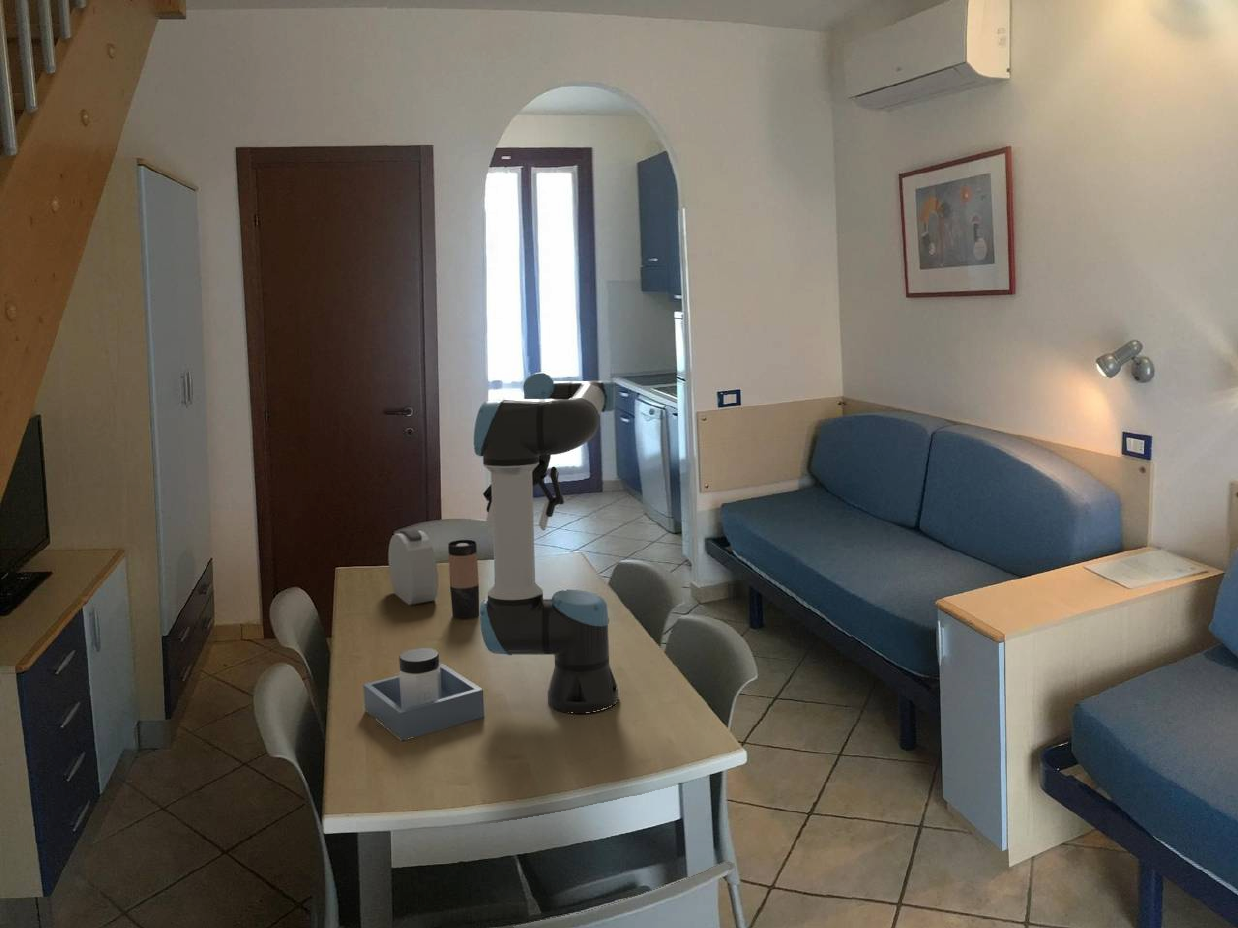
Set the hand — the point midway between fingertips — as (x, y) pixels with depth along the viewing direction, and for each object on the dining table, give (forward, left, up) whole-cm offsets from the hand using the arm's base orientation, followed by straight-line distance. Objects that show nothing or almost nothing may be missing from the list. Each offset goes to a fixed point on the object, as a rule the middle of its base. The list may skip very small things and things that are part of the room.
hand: (515, 526), depth 243 cm
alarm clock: (+58, +1, -32) cm, 66 cm away
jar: (-18, +34, -31) cm, 49 cm away
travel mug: (+34, -3, -32) cm, 46 cm away
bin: (-18, +34, -31) cm, 50 cm away
